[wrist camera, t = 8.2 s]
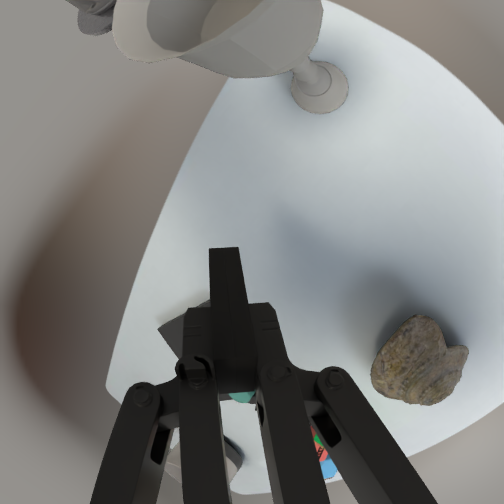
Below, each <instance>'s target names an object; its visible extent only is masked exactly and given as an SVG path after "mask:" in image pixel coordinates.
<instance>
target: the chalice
mask: <svg viewBox="0 0 504 504" xmlns="http://www.w3.org/2000/svg"><path fill="white" fill-rule="evenodd" d="M322 16H323V7H322V4H321V0H117V2H116V5H115V8H114V14H113V24H112V32H113V35H114V39H115V43H116V46H117V48H118V49H119V50H120V51H121V52H122V53H123V54H124V55H125V56H126V57H127V58H128V59H130V60H136V61H141V62H146V63H153V62H157V61H161V60H165V59H170V58H175V57H177V58H180V59H183V60H185V61H188V62H191V63H194V64H196V65H199V66H201V67H204V68H206V69H209V70H211V71H214V72H216V73H219V74H222V75H226V76H228V77H232V78H258V77H269V76H273V75H277V74H281V73H284V72H287V71H291V72H293V75H294V76H293V79H292V83H291V91H292V96H293V98H294V100H295V101H296V103H297V104H298V105H299V106H300V107H301V108H302V109H304V110H306V111H308V112H310V113H316V114H324V113H330V112H332V111H334V110H336V109H338V108H339V107H340V106H341V105H342V104H343V103H344V101H345V99H346V97H347V95H348V82H347V78H346V77H345V75H344V74H343V72H342V71H341V70H340V69H339V68H337V67H336V66H335V65H332V64H330V63H328V62H321V61H315V62H313V61H311V60H310V59H309V55H310V53H311V52H312V50H313V48H314V46H315V44H316V43H317V40H318V36H319V32H320V28H321V22H322Z"/></svg>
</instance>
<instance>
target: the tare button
mask: <svg viewBox="0 0 504 504" xmlns="http://www.w3.org/2000/svg"><path fill="white" fill-rule="evenodd" d="M254 393H255V391H253V392H242V393H230V394H229V395H230V397H231V398H233V399H234V400H235V401H237V402H240V403H247V402H249V401H250V399H251V398H252V396H253V395H254Z"/></svg>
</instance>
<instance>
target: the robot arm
mask: <svg viewBox="0 0 504 504" xmlns="http://www.w3.org/2000/svg"><path fill="white" fill-rule="evenodd" d="M66 1H68V2H69V3H71V4H72V5H74V6H75V7H77V8H78V9H80V10H81V11H83V12H85V13H87V14H92V15H99V14H102V13H104V12H105V11H107V10H108V9H110V8H111V7H112V6H114V5H115V4H116V2H117V0H66ZM209 277H210V307H197V308H188V310H187V312H186V313H185V315H184V318H183V342H182V357H181V358H180V359H179V360H178V362H177V363H176V366H175V371H176V374H177V376H176V377H175V378H174V379H172V380H171V381H168V382H166V383H162V384H159V385H156V386H154V385H152V384H150V383H148V382H140V383H136V384H134V385H133V386H131V387H130V388H129V389H128V391H127V393H126V395H125V397H124V400H123V403H122V405H121V408H120V411H119V414H118V417H117V419H116V422H115V425H114V428H113V430H112V433H111V436H110V439H109V442H108V446H107V448H106V451H105V454H104V458H103V460H102V464H101V467H100V470H99V473H98V477H97V480H96V484H95V487H94V491H93V494H92V498H91V501H90V504H156V501H157V497H158V493H159V489H160V484H161V480H162V475H163V472H164V468H165V464H166V460H167V456H168V452H169V448H170V444H171V440H172V436H173V432H174V428H176V427H179V434H180V459H181V476H182V489H183V501H184V504H232V499H231V492H230V485H229V477H228V470H227V462H226V454H225V445H224V437H223V427H222V418H221V408H220V401H219V394H230V393H242V392H253V391H255V392H256V407H255V411H257V412H258V418H259V424H260V430H261V436H262V442H263V447H264V453H265V459H266V464H267V470H268V475H269V480H270V486H271V491H272V496H273V502H274V504H330V501H329V497H328V493H327V489H326V485H325V481H324V477H323V473H322V469H321V465H320V461H319V458H318V454H317V450H316V446H315V442H314V438H313V435H312V431H311V427H310V424H311V425H312V427H313V429H314V431H315V432H316V434H317V436H318V437H319V439H320V441H321V443H322V444H323V446H324V448H325V449H326V451H327V453H328V454H329V456H330V458H331V459H332V461H333V463H334V464H335V466H336V468H337V469H338V471H339V473H340V474H341V476H342V478H343V479H344V481H345V483H346V484H347V486H348V487H349V489H350V490H351V492H352V494H353V495H354V497H355V499H356V500H357V502H358V503H359V504H438V503H437V502H436V500H435V499H434V497H433V496H432V494H431V493H430V491H429V490H428V488H427V487H426V485H425V484H424V482H423V481H422V479H421V478H420V476H419V475H418V473H417V472H416V470H415V469H414V468H413V466H412V465H411V463H410V462H409V460H408V459H407V457H406V456H405V454H404V453H403V451H402V450H401V448H400V447H399V446H398V444H397V443H396V441H395V440H394V438H393V437H392V435H391V434H390V432H389V431H388V430H387V428H386V427H385V425H384V424H383V422H382V421H381V419H380V418H379V417H378V415H377V414H376V412H375V411H374V409H373V408H372V406H371V405H370V404H369V402H368V401H367V399H366V398H365V396H364V395H363V394H362V392H361V391H360V389H359V388H358V386H357V385H356V383H355V382H354V381H353V379H352V378H351V376H350V375H349V374H348V373H347V372H346V371H345V370H344V369H342V368H340V367H334V366H331V367H327V368H325V369H323V370H322V371H321V372H314V371H306V370H302V369H300V368H298V367H296V366H294V365H293V364H292V363H291V362H290V360H289V358H288V356H287V352H286V348H285V345H284V341H283V337H282V333H281V330H280V326H279V322H278V319H277V315H276V311H275V309H274V308H273V307H272V306H271V305H270V304H269V302H266V303H253V304H248V299H247V294H246V288H245V282H244V276H243V271H242V265H241V259H240V253H239V248H238V247H228V248H209ZM309 422H310V423H309Z"/></svg>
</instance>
